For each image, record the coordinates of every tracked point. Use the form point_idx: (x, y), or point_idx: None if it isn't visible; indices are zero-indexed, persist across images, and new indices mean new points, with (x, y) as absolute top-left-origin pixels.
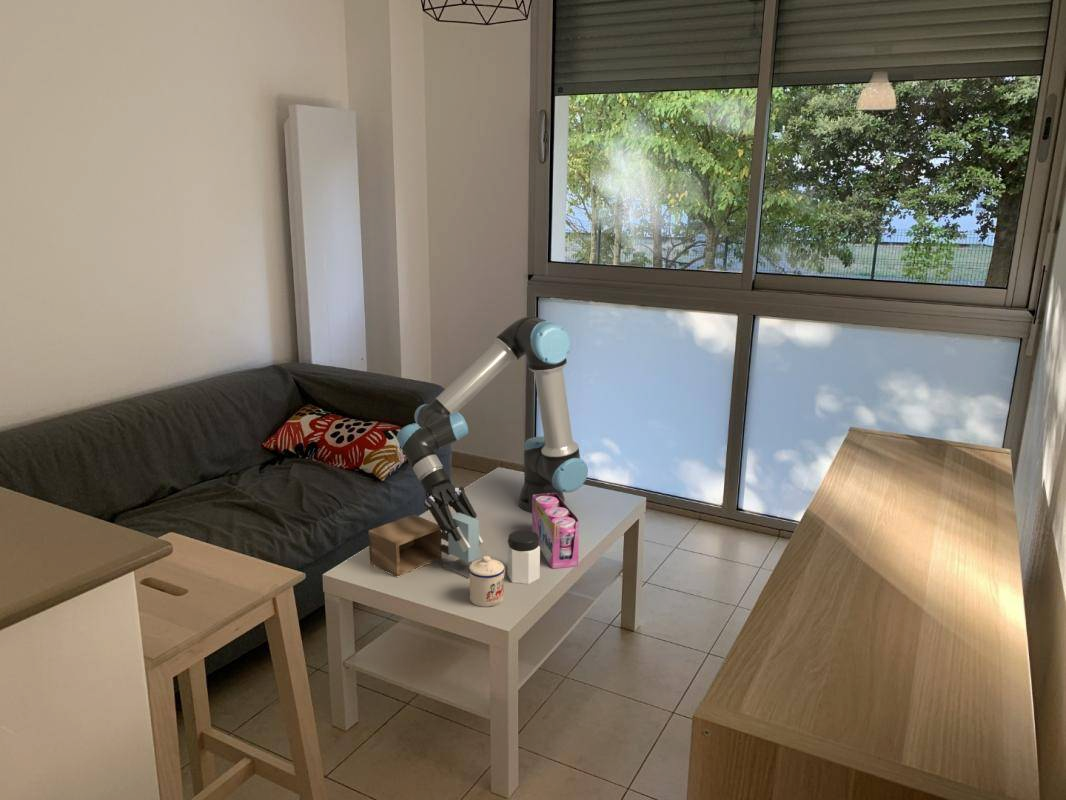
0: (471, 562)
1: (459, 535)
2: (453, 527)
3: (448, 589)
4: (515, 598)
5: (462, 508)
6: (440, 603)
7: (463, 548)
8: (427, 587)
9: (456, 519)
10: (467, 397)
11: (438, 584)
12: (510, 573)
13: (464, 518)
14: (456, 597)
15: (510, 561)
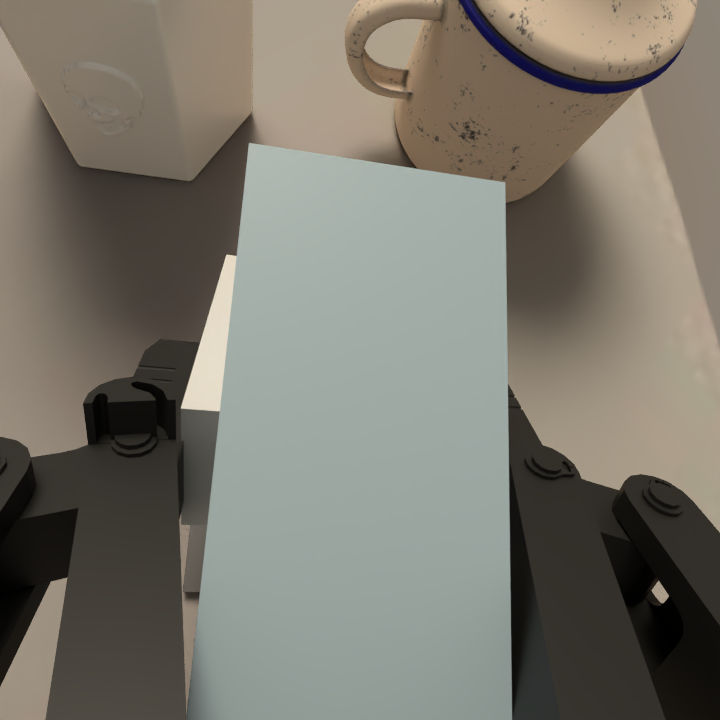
0: None
1: None
2: (554, 453)
3: (541, 349)
4: None
5: (128, 714)
6: (658, 283)
7: None
8: (606, 460)
9: (500, 490)
10: None
11: (542, 437)
12: (234, 103)
13: (366, 402)
14: (568, 258)
15: (229, 38)
